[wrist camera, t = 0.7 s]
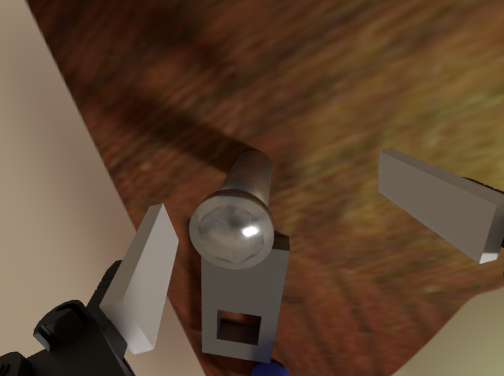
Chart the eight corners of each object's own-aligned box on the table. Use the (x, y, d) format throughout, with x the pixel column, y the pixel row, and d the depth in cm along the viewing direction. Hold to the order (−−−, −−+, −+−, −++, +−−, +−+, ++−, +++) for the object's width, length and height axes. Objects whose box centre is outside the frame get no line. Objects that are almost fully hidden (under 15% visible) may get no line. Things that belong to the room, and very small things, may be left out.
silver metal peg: (231, 142, 27) (187, 191, 15) (279, 147, 27) (278, 202, 14) (229, 186, 30) (190, 263, 17) (274, 191, 29) (268, 274, 16)
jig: (207, 226, 32) (201, 239, 30) (289, 236, 32) (289, 251, 29) (207, 334, 41) (202, 352, 38) (270, 344, 40) (270, 363, 38)
